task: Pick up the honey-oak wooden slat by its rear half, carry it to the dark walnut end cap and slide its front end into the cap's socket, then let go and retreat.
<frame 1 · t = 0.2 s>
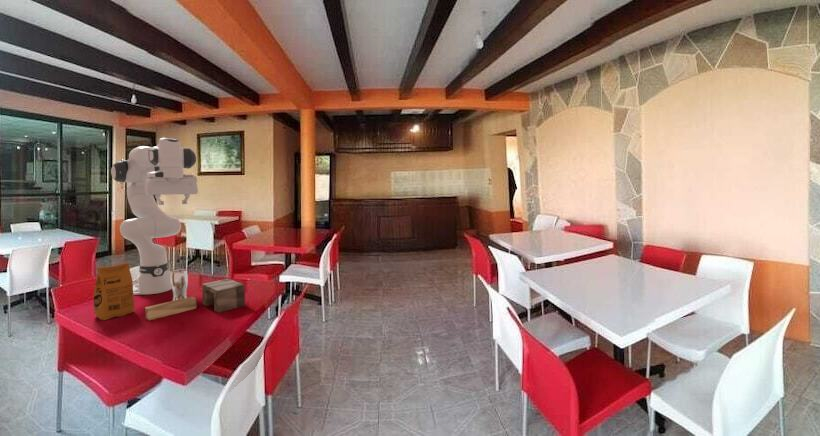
hand: (173, 204, 156), 47 cm above the table, fingers open, 8 cm apart
coffee package: (115, 315, 147), on the table
slat: (172, 313, 150), on the table
end cap: (224, 304, 161), on the table
beer glass: (180, 301, 165), on the table
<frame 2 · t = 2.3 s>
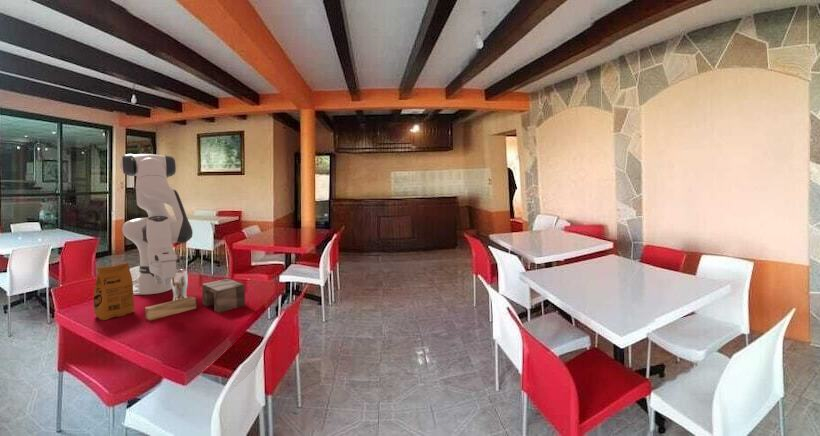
hand: (162, 285, 146), 13 cm above the table, fingers open, 8 cm apart
nothing on the table moved.
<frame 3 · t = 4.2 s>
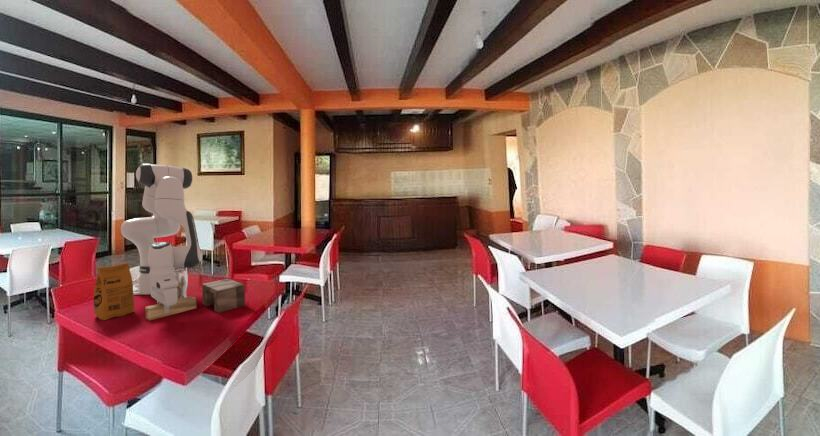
hand: (163, 311, 148), 2 cm above the table, fingers closed on slat, 4 cm apart
slat: (172, 313, 150), on the table, touching gripper
everything else where it was.
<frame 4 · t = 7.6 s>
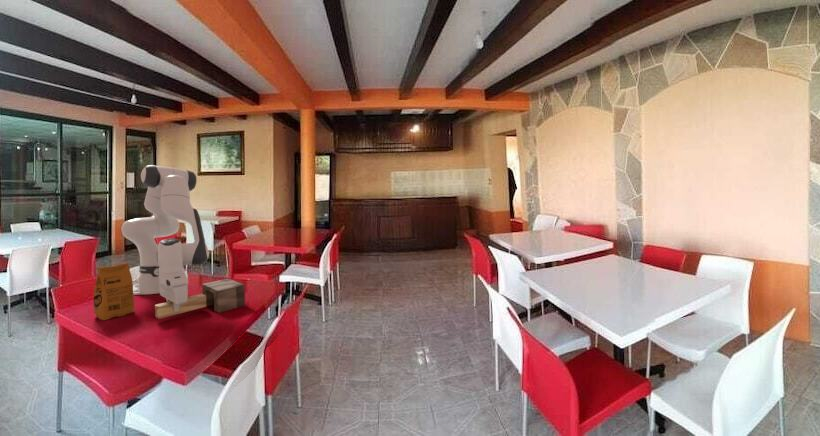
hand: (173, 309, 144), 4 cm above the table, fingers closed on slat, 4 cm apart
slat: (182, 311, 147), point 2 cm above the table, touching gripper
everything else where it was.
when the fingers open (2 cm above the table, at t = 10.8 s): slat drops 1 cm, on the table.
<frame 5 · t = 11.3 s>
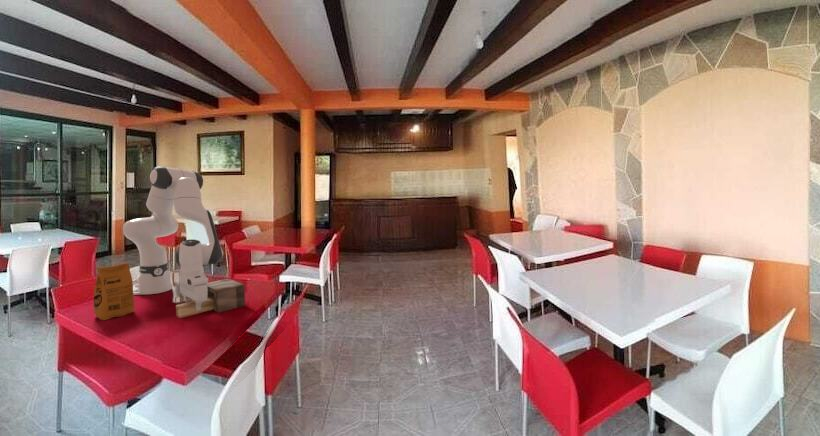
hand: (193, 307, 151), 2 cm above the table, fingers open, 8 cm apart
slat: (201, 311, 153), on the table
everything else where it was.
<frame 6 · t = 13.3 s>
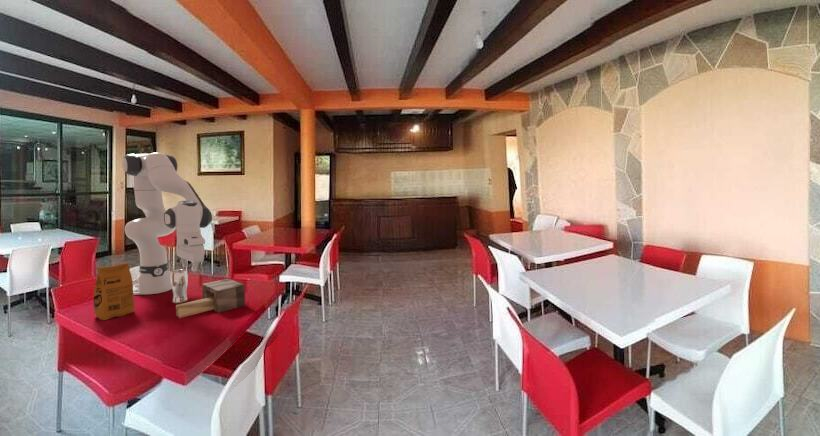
hand: (189, 269, 150), 20 cm above the table, fingers open, 8 cm apart
nothing on the table moved.
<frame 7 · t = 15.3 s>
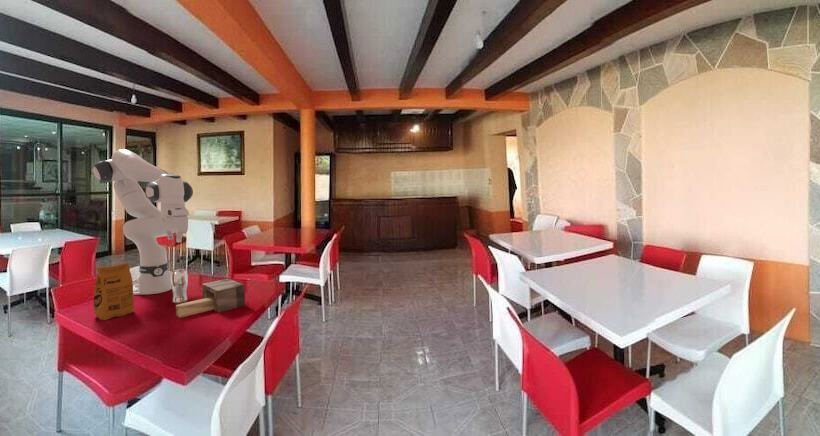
hand: (174, 241, 153), 31 cm above the table, fingers open, 8 cm apart
nothing on the table moved.
at the end: slat 0.2 cm from the target spot on the table beside the end cap, on the table; the gripper is holding nothing; slat tilted 0° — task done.
